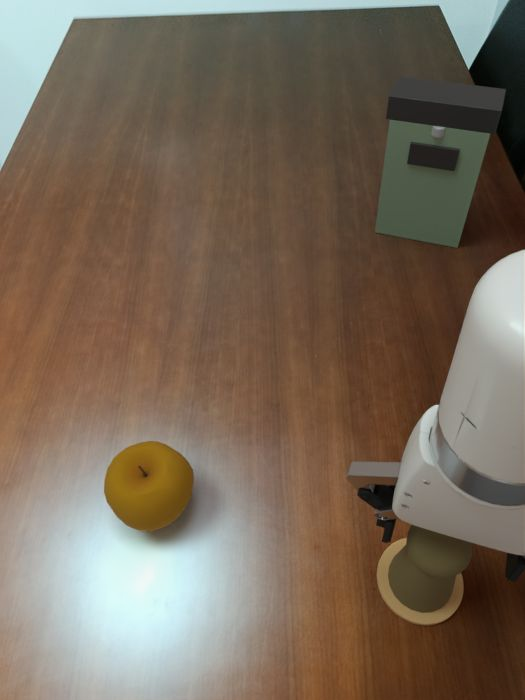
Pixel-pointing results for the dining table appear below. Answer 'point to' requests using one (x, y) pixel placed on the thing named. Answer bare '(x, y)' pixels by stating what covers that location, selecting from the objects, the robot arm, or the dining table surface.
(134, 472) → the apple
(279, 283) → the dining table surface
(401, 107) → the green box with lid
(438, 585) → the pepper shaker
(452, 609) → the cork mat
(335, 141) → the dining table surface
